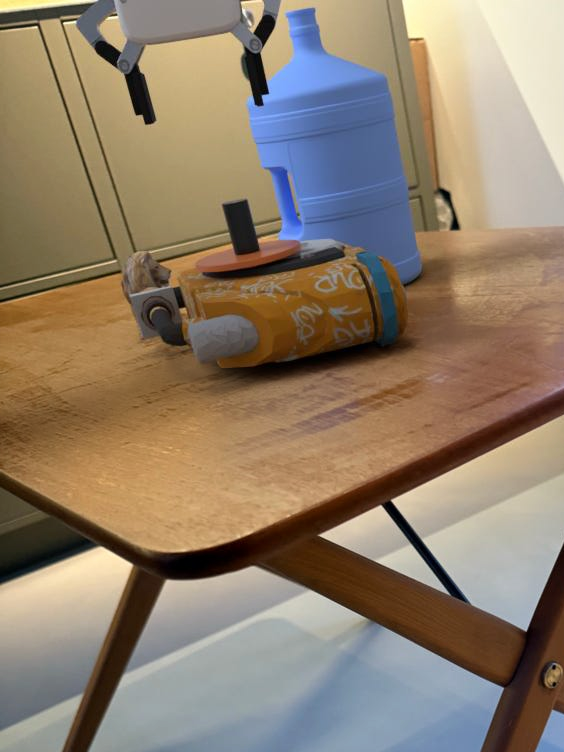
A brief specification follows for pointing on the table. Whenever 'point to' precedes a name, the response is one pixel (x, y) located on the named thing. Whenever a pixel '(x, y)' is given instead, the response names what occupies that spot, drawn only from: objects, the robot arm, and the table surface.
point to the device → (279, 307)
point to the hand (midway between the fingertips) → (205, 114)
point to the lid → (245, 243)
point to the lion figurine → (142, 276)
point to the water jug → (335, 152)
